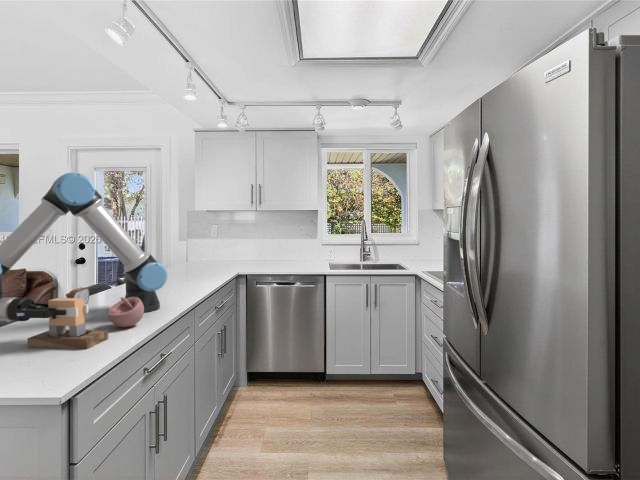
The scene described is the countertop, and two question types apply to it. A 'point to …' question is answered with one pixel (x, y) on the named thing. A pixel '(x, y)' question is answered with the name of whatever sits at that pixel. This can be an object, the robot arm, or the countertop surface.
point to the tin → (80, 294)
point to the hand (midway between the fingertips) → (82, 310)
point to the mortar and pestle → (126, 312)
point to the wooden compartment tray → (68, 340)
